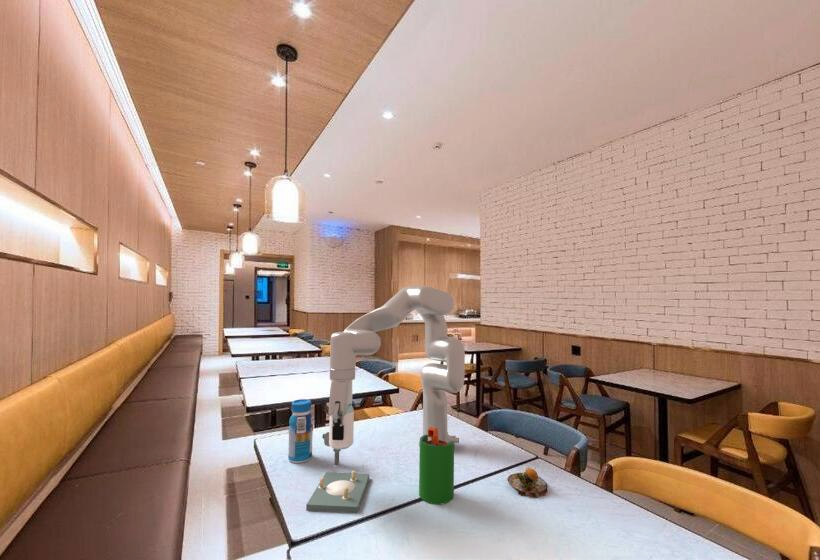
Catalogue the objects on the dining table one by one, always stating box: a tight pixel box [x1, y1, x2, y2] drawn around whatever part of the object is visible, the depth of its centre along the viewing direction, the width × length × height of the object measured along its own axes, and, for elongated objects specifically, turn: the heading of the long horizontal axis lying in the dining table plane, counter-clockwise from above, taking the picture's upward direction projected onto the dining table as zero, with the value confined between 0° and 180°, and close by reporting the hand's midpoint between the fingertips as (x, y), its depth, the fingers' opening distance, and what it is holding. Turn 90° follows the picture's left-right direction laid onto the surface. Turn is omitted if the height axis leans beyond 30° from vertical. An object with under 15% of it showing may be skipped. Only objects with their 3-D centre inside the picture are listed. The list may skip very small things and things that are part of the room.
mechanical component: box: [322, 431, 342, 466], centre depth 123 cm, size 3×10×10 cm, turn 79°
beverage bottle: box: [287, 398, 314, 464], centre depth 128 cm, size 8×8×20 cm
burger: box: [506, 466, 549, 499], centre depth 109 cm, size 12×12×8 cm
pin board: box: [305, 470, 370, 513], centre depth 105 cm, size 14×18×4 cm
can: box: [328, 403, 355, 451], centre depth 106 cm, size 7×7×12 cm
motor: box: [418, 427, 455, 505], centre depth 105 cm, size 10×9×20 cm
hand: (341, 434), depth 106 cm, fingers closed on can, 7 cm apart
